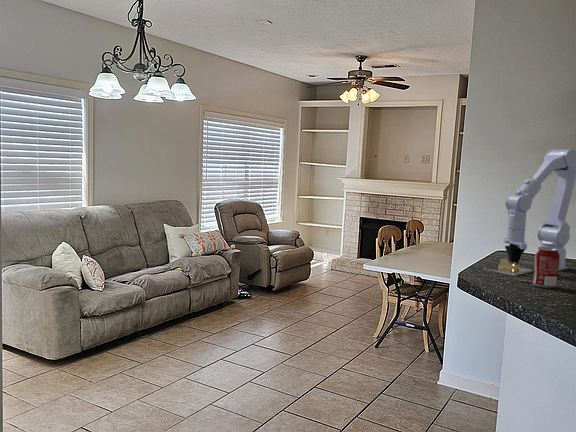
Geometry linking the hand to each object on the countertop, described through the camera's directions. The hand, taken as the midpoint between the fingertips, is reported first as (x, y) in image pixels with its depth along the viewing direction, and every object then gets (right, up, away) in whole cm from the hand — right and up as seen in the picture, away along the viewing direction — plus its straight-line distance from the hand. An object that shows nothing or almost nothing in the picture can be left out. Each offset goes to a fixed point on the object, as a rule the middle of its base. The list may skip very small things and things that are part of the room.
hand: (513, 265), depth 183 cm
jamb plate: (-2, -2, -1) cm, 3 cm away
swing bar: (-2, -1, -2) cm, 4 cm away
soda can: (-1, -4, -25) cm, 25 cm away
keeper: (-6, -2, -2) cm, 7 cm away
